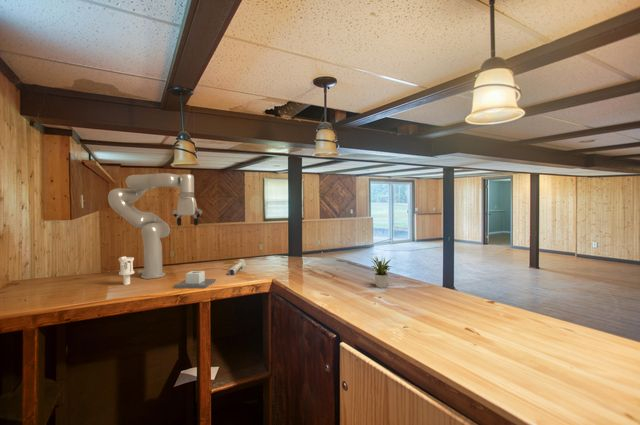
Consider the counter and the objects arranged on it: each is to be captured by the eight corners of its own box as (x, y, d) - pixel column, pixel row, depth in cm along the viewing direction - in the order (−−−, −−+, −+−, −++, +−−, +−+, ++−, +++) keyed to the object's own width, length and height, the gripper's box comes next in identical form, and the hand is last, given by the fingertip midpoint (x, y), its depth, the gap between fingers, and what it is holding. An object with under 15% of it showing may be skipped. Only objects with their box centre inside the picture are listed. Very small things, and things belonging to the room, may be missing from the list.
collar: (185, 283, 163) (185, 273, 163) (191, 280, 170) (191, 271, 170) (199, 283, 163) (198, 273, 163) (204, 280, 170) (204, 271, 170)
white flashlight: (226, 269, 189) (238, 256, 214) (227, 279, 190) (239, 266, 215) (235, 269, 189) (246, 256, 213) (235, 279, 190) (247, 266, 214)
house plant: (360, 287, 157) (360, 255, 157) (369, 282, 169) (369, 251, 169) (388, 291, 150) (388, 256, 150) (396, 284, 163) (396, 253, 162)
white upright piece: (115, 285, 167) (115, 256, 166) (126, 282, 173) (126, 254, 173) (126, 286, 165) (126, 257, 165) (137, 282, 172) (137, 255, 171)
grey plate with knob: (174, 288, 160) (174, 275, 160) (187, 281, 174) (186, 269, 174) (205, 288, 159) (205, 275, 159) (215, 281, 173) (215, 269, 173)
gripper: (169, 195, 180) (169, 225, 180) (199, 195, 179) (199, 225, 179) (175, 196, 187) (176, 225, 188) (204, 195, 186) (204, 224, 187)
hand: (187, 225), depth 183 cm, fingers open, 9 cm apart
